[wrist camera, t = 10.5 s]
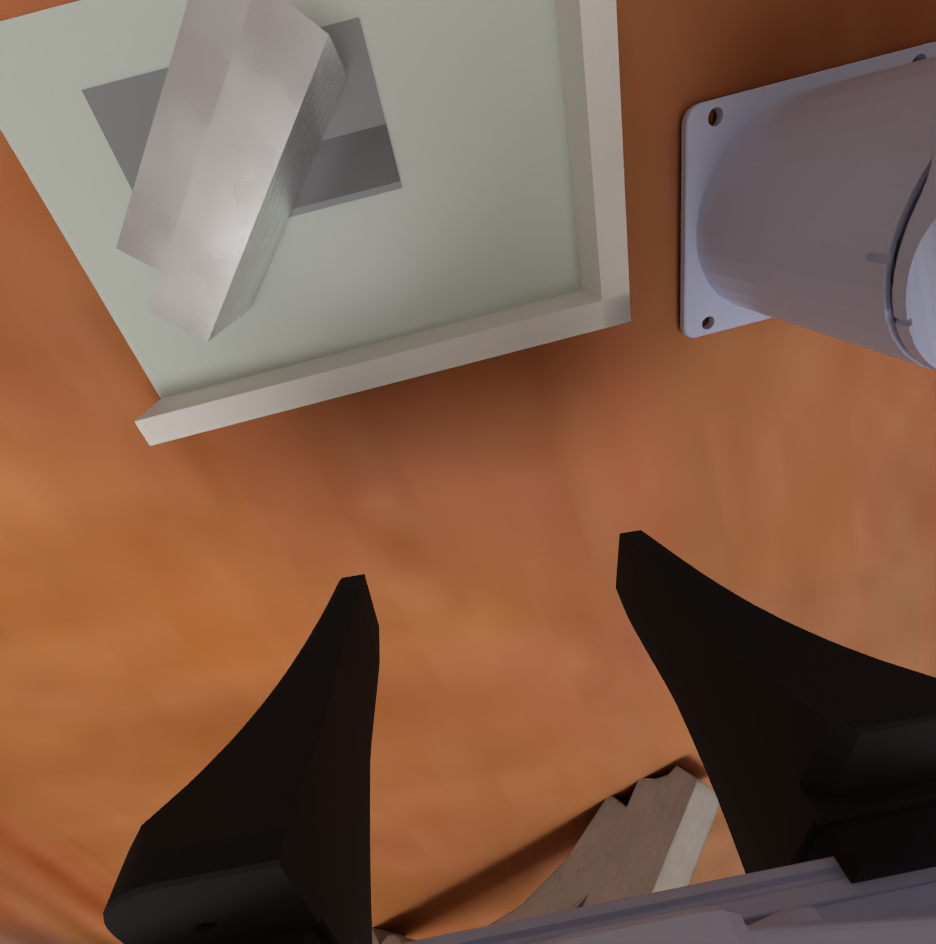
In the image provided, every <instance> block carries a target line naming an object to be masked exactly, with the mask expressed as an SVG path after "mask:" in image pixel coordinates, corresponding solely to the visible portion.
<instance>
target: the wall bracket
mask: <svg viewBox="0 0 936 944" xmlns="http://www.w3.org/2000/svg"><path fill="white" fill-rule="evenodd" d="M719 805H720V804H719V802H718V799H717V797H716V794H715V792H714V790H713V789H711V788H710V787H709V786H707V785H706V784H705V783H703V782H702V781H700V780H699V779H698V778H696V777H694V776H693V775H691V774H690V773H688V772H686V771H685V770H683V769H682V768H680V767H678V766H676V767H675V768H674V769H673V770H672V771H671V772H670V773H669V774H668V775H665V776H662V777H659V778H656V779H652V778H642V779H640V780H638V782H637V784H636V787H635V789H634V791H633V794H632V796H631V798H630V800H629V803H628V805H627V804H625V803H623V802H622V801H620V800H618V799H616V798H615V797H613V796H609V797H608V798H606V799H605V800H604V802H603V803H602V805H601V807H600V808H599V810H598V811H597V813H596V814H595V816H594V817H593V819H592V820H591V822H590V824H589V825H588V827H587V828H586V830H585V831H584V833H583V834H582V836H581V838H580V839H579V841H578V842H577V844H576V845H575V847H574V848H573V850H572V852H571V853H570V855H569V856H568V858H567V859H566V860H565V861H564V863H563V864H562V865H561V866H560V867H559V868H558V869H557V870H556V871H555V872H554V873H553V874H552V875H551V876H550V877H549V878H548V879H547V880H546V881H545V882H544V883H543V884H542V885H541V886H540V887H539V888H538V889H537V890H536V891H535V892H534V893H533V894H532V895H531V896H530V897H529V898H528V899H527V900H526V901H525V902H524V903H523V904H522V905H521V906H519V907H518V908H516V909H514V910H513V911H511V912H509V913H508V914H506V915H505V916H503V917H501V918H500V919H498V920H496V921H495V922H493V923H492V924H490V925H495V924H500V923H505V922H510V921H515V920H520V919H525V918H530V917H535V916H540V915H545V914H550V913H555V912H559V911H564V910H569V909H574V908H579V907H584V906H589V905H594V904H599V903H604V902H609V901H614V900H619V899H624V898H629V897H634V896H639V895H644V894H649V893H654V892H659V891H664V890H669V889H674V888H679V887H684V886H688V885H689V883H690V881H691V878H692V876H693V873H694V870H695V868H696V865H697V863H698V860H699V857H700V855H701V852H702V850H703V847H704V844H705V842H706V839H707V837H708V834H709V831H710V829H711V826H712V824H713V821H714V818H715V816H716V813H717V811H718V808H719ZM490 925H488V926H490ZM411 941H416V940H413V939H409V938H406V937H405V936H403V935H400V934H396V933H392V932H388V931H384V930H380V929H376V928H372V944H401V943H406V942H411Z"/></svg>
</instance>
